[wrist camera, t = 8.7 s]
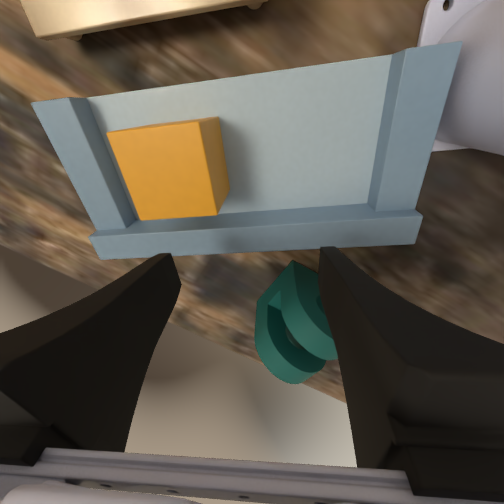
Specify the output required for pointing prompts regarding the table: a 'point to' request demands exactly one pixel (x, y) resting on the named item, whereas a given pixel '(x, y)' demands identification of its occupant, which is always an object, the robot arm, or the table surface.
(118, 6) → the low wooden bench
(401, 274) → the table surface
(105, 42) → the table surface
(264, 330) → the bracket
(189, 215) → the block
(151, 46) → the table surface
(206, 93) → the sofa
